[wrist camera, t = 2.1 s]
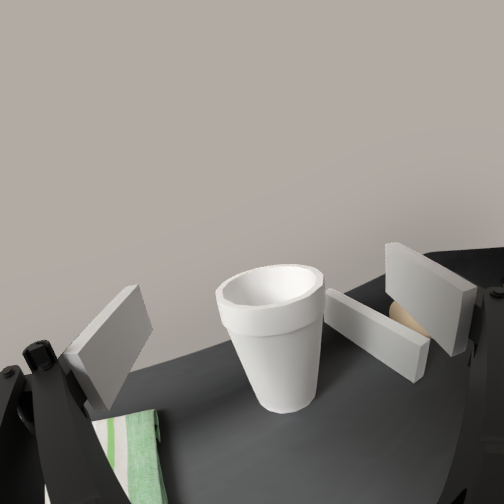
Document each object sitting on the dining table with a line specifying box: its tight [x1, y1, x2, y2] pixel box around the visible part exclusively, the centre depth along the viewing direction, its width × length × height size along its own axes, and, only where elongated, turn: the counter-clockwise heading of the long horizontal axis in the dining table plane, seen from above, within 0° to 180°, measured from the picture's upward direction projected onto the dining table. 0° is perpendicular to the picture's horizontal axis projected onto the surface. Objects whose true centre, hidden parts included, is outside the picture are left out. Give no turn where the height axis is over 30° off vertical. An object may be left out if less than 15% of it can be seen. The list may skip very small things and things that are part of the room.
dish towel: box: [45, 409, 168, 504], centre depth 16 cm, size 18×23×3 cm
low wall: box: [324, 288, 430, 383], centre depth 32 cm, size 2×18×5 cm, turn 21°
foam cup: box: [215, 264, 326, 413], centre depth 27 cm, size 10×9×13 cm
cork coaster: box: [389, 301, 433, 339], centre depth 35 cm, size 13×13×1 cm
